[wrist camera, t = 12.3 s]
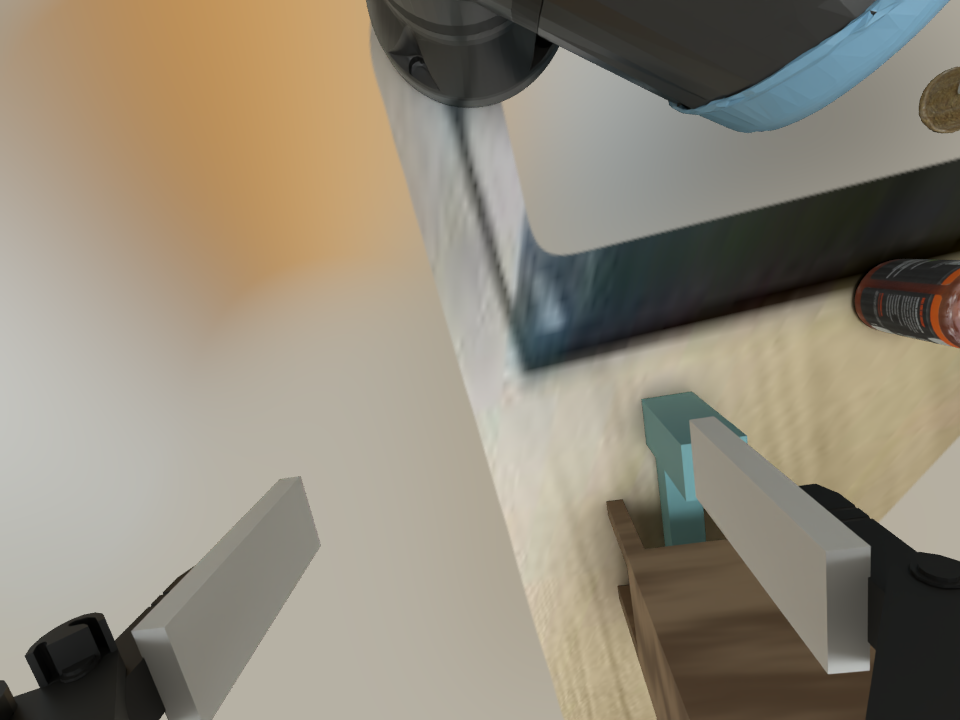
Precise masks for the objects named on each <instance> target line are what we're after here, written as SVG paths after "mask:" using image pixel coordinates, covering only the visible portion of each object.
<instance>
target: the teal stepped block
mask: <svg viewBox="0 0 960 720" xmlns="http://www.w3.org/2000/svg"><path fill="white" fill-rule="evenodd" d="M642 408H643V417H644V426H645V435H646V444H647V446H648V447H649V448H650V450H651V451H652V453H653V454H654V456H655V457H656V464H657V474H658V483H659V492H660V502H661V511H662V520H663V530H664V539H665V546H674V545H682V544H690V543H699V542H706V533H705V521H704V510H703V506H702V505H701V503H700V502H699V501H698V499H697V498H696V493H695V481H694V470H693V458H692V447H691V435H690V423H689V420H691V419H698V418H705V417H712V416H714V417H715V418H717V419H718V420H719V421H720V422H721V423H723V424H724V425H725V426H726V427H728V428H729V429H730V430H731V431H732V432H734V433H735V434H736V435H737V436H738V437H740V438H741V439H742V440H743V441H744V442H746V443H747V435H745V434H744V433H743V432H742V431H740V430H739V429H738V428H737V427H735V426H734V425H733V424H732V423H730V422H729V421H728V420H727V419H725V418H724V417H723V416H722V415H720V414H719V413H718V412H717V411H715V410H714V409H713V408H712V407H710V406H709V405H708V404H707V403H705V402H704V401H703V400H702V399H700V398H699V397H698V396H697V395H695V394H694V393H693V392H686V393H679V394H673V395H666V396H660V397H653V398H646V399H642Z"/></svg>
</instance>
